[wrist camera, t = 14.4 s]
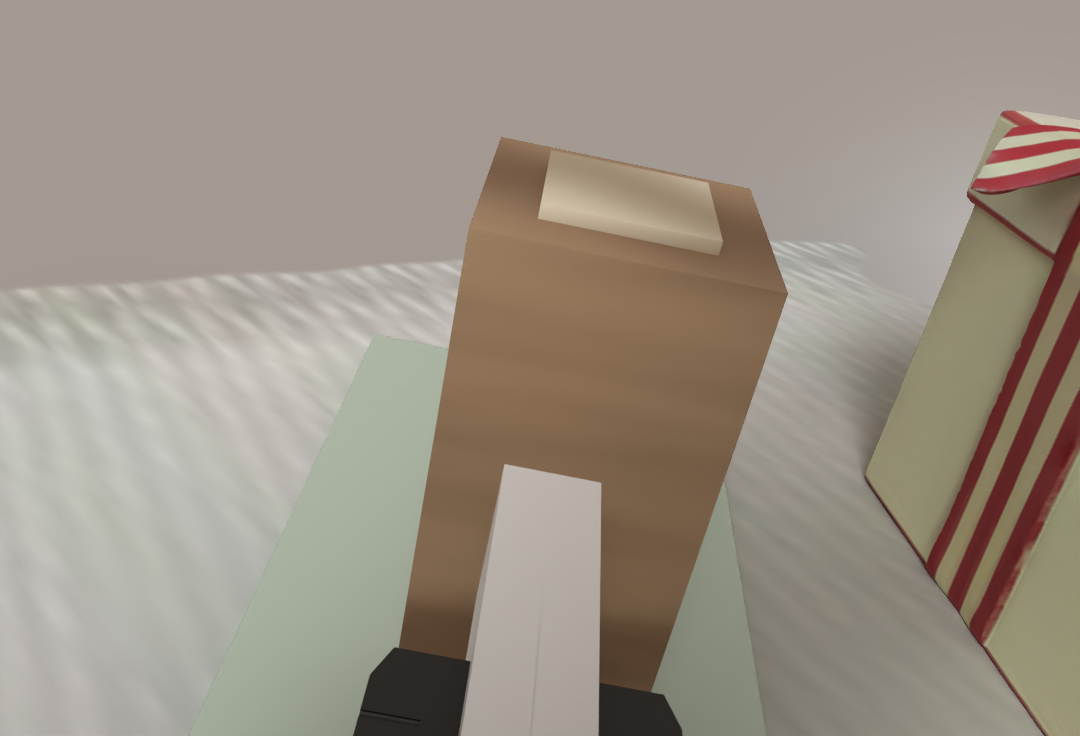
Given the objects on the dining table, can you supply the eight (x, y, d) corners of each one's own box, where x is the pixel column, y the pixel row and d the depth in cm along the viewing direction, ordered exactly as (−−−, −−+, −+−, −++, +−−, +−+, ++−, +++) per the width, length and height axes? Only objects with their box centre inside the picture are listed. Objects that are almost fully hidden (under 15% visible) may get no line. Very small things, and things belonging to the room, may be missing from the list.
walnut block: (593, 859, 22) (793, 278, 15) (369, 818, 22) (471, 213, 15) (596, 688, 27) (753, 176, 20) (410, 653, 27) (503, 124, 20)
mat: (801, 1019, 21) (810, 1003, 20) (122, 897, 20) (121, 879, 20) (707, 413, 42) (711, 401, 41) (372, 346, 41) (374, 334, 41)
